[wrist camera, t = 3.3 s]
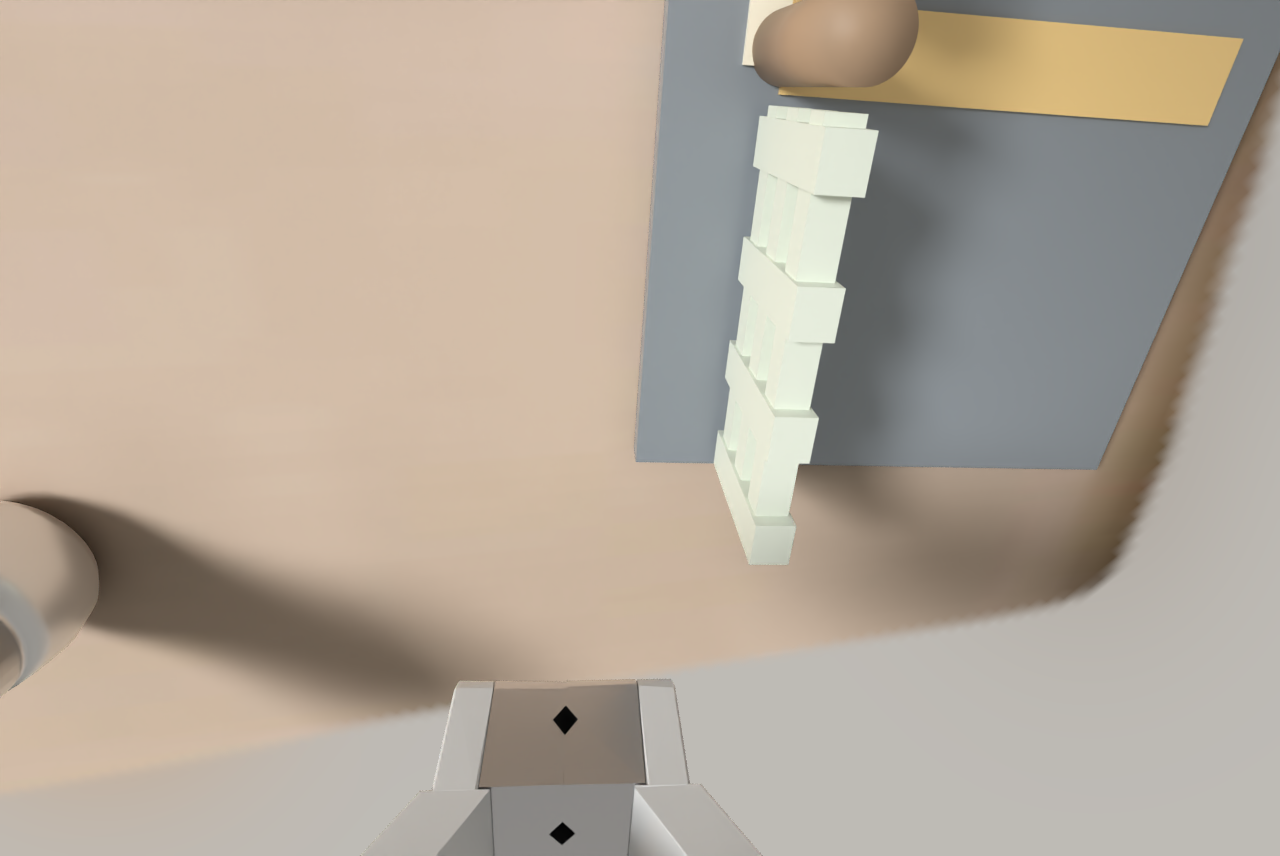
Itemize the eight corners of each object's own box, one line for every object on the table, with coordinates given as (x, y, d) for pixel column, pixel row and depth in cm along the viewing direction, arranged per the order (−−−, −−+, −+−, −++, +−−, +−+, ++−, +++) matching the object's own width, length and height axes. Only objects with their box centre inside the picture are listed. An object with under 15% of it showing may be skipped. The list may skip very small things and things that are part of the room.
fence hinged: (760, 104, 20) (828, 111, 14) (800, 107, 20) (882, 115, 14) (713, 462, 25) (749, 564, 20) (744, 463, 25) (788, 564, 20)
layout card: (716, -751, 14) (727, -819, 13) (1520, -590, 15) (1588, -639, 14) (633, 449, 26) (636, 464, 25) (1080, 457, 28) (1099, 471, 27)
